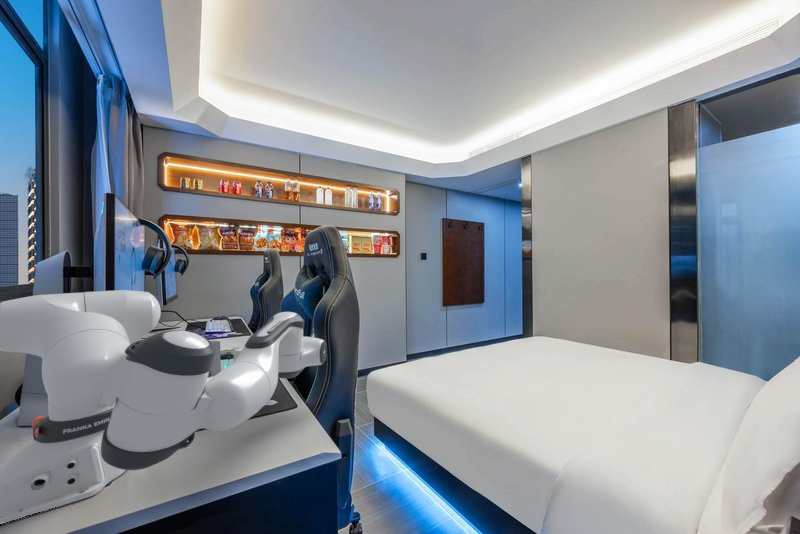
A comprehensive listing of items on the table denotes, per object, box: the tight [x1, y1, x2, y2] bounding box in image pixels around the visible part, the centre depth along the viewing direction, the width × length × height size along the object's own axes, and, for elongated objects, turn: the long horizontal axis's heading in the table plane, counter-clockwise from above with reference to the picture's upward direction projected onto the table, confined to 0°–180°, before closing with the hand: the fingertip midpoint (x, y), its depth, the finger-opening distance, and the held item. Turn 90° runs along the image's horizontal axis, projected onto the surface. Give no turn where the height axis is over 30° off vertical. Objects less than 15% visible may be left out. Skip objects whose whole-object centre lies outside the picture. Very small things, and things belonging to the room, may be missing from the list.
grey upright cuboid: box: [208, 340, 222, 378], centre depth 107 cm, size 5×4×17 cm
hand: (243, 346), depth 104 cm, fingers open, 8 cm apart
